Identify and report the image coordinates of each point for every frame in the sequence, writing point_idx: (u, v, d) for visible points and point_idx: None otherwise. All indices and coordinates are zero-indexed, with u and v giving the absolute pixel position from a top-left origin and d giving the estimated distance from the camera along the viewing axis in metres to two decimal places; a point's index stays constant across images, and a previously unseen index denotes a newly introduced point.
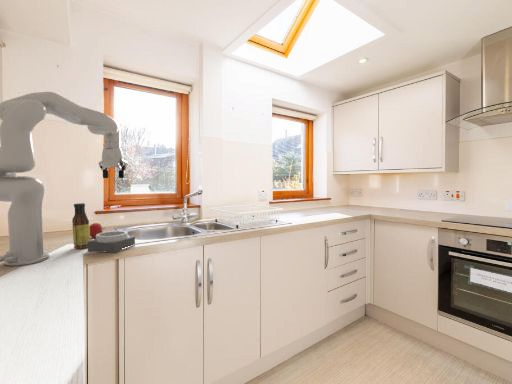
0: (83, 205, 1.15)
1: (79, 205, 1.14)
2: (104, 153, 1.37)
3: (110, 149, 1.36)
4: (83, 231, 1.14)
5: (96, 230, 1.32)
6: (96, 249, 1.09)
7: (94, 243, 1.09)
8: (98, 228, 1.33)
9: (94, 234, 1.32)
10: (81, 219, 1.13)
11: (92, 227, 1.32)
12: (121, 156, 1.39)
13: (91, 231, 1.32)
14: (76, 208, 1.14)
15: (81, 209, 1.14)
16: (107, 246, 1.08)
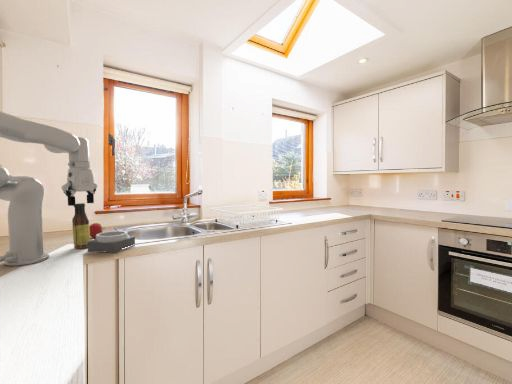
0: (83, 205, 1.15)
1: (79, 205, 1.14)
2: (79, 175, 1.12)
3: (86, 170, 1.15)
4: (83, 231, 1.14)
5: (96, 230, 1.32)
6: (96, 249, 1.09)
7: (94, 243, 1.09)
8: (98, 228, 1.33)
9: (94, 234, 1.32)
10: (81, 219, 1.14)
11: (92, 227, 1.32)
12: None
13: (91, 231, 1.32)
14: (76, 208, 1.14)
15: (81, 209, 1.14)
16: (107, 246, 1.08)
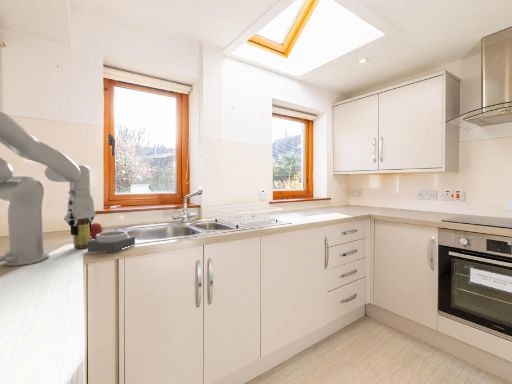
0: None
1: None
2: (80, 203, 1.12)
3: (87, 197, 1.16)
4: (83, 231, 1.14)
5: (96, 230, 1.32)
6: (96, 249, 1.09)
7: (94, 243, 1.09)
8: (98, 228, 1.33)
9: (94, 234, 1.32)
10: (82, 219, 1.14)
11: (92, 227, 1.32)
12: None
13: (91, 231, 1.32)
14: None
15: None
16: (107, 246, 1.08)
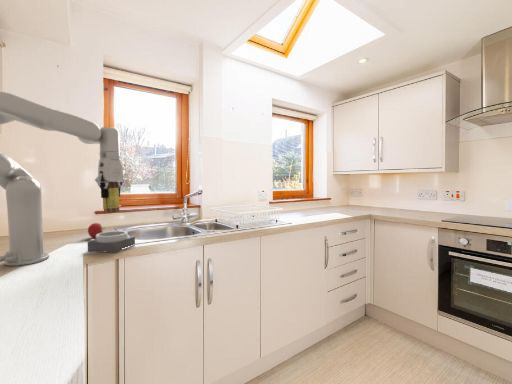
0: None
1: None
2: (110, 165, 1.10)
3: (116, 161, 1.14)
4: (113, 194, 1.12)
5: (96, 230, 1.32)
6: (96, 249, 1.09)
7: (94, 243, 1.09)
8: (98, 228, 1.33)
9: (94, 234, 1.32)
10: (112, 183, 1.12)
11: (92, 227, 1.32)
12: None
13: (91, 231, 1.32)
14: None
15: None
16: (107, 246, 1.08)
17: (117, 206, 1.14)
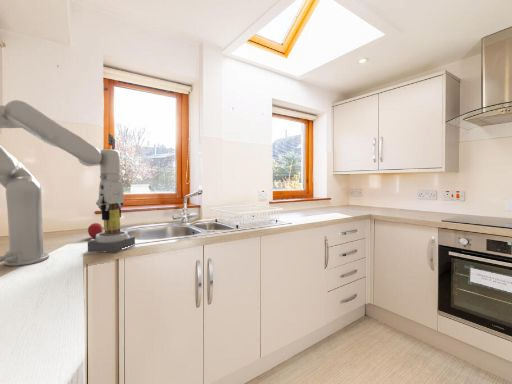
0: None
1: None
2: (111, 187, 1.11)
3: (117, 182, 1.14)
4: (114, 216, 1.13)
5: (96, 230, 1.32)
6: (96, 249, 1.09)
7: (94, 243, 1.09)
8: (98, 228, 1.33)
9: (94, 234, 1.32)
10: (112, 204, 1.12)
11: (92, 227, 1.32)
12: None
13: (91, 231, 1.32)
14: None
15: None
16: (107, 246, 1.08)
17: (118, 227, 1.14)
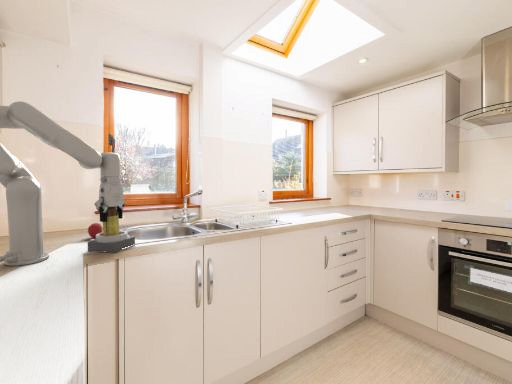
0: None
1: None
2: (111, 190, 1.11)
3: (117, 185, 1.14)
4: (113, 222, 1.12)
5: (96, 230, 1.32)
6: (96, 249, 1.09)
7: (94, 243, 1.09)
8: (98, 228, 1.33)
9: (94, 234, 1.32)
10: (112, 211, 1.12)
11: (92, 227, 1.32)
12: None
13: (91, 231, 1.32)
14: None
15: None
16: (107, 246, 1.08)
17: (117, 234, 1.14)
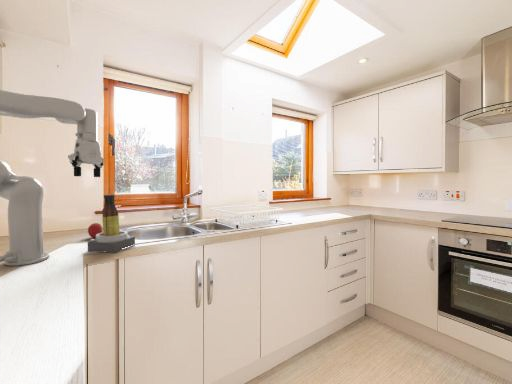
0: (113, 196, 1.14)
1: (109, 196, 1.12)
2: (86, 146, 1.11)
3: (94, 142, 1.15)
4: (113, 222, 1.13)
5: (96, 230, 1.32)
6: (96, 249, 1.09)
7: (94, 243, 1.09)
8: (98, 228, 1.33)
9: (94, 234, 1.32)
10: (112, 211, 1.12)
11: (92, 227, 1.32)
12: None
13: (91, 231, 1.32)
14: (106, 199, 1.12)
15: (111, 200, 1.13)
16: (107, 246, 1.08)
17: (117, 234, 1.14)
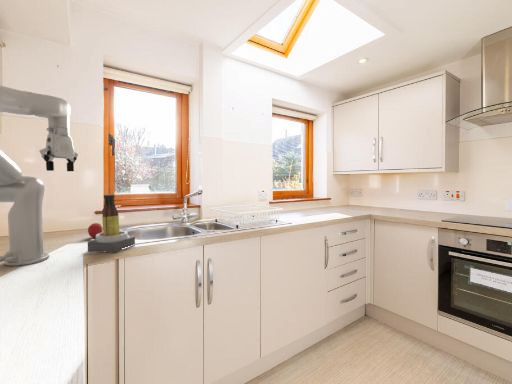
0: (113, 196, 1.14)
1: (109, 196, 1.12)
2: (58, 140, 1.13)
3: (66, 137, 1.16)
4: (113, 222, 1.12)
5: (96, 230, 1.32)
6: (96, 249, 1.09)
7: (94, 243, 1.09)
8: (98, 228, 1.33)
9: (94, 234, 1.32)
10: (112, 211, 1.12)
11: (92, 227, 1.32)
12: None
13: (91, 231, 1.32)
14: (106, 199, 1.12)
15: (111, 200, 1.13)
16: (107, 246, 1.08)
17: (117, 234, 1.14)
